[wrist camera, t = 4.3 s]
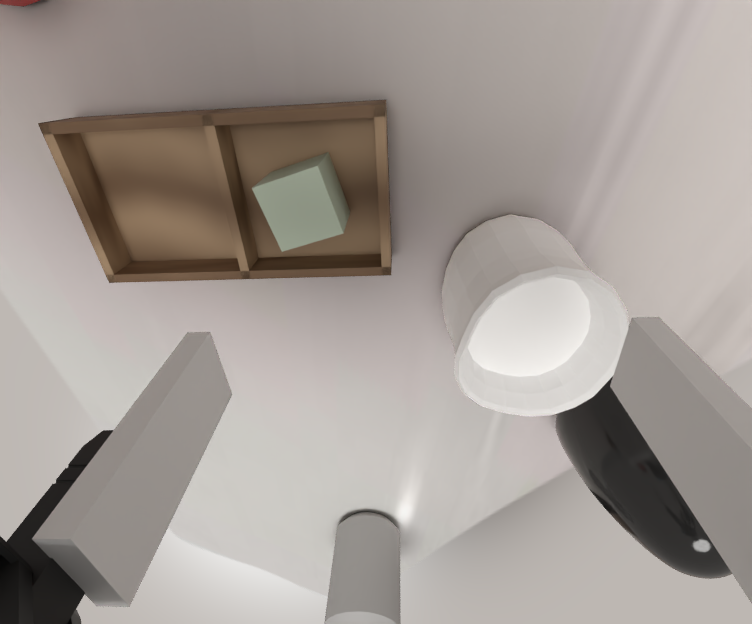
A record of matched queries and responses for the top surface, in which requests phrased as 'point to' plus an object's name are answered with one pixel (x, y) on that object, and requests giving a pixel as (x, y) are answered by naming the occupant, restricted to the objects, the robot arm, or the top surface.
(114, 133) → the tray
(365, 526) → the can
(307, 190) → the sage block
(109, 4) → the top surface
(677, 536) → the egg shaped speaker
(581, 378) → the cup
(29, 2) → the beer can
